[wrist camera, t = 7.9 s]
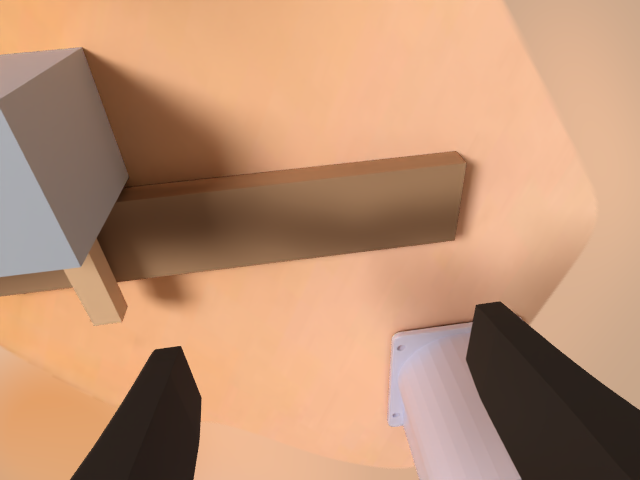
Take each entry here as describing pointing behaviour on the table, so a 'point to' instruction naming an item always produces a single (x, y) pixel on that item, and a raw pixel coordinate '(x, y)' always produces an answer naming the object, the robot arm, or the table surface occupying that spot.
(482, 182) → the table surface
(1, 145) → the grey tall block
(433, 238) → the board
